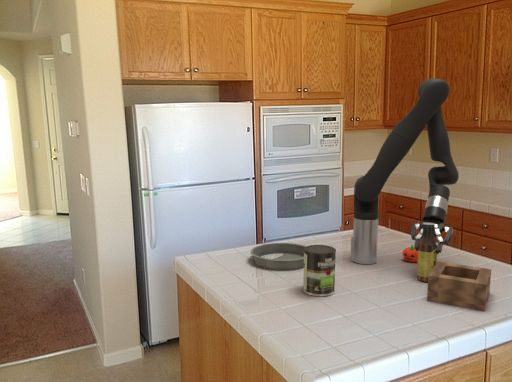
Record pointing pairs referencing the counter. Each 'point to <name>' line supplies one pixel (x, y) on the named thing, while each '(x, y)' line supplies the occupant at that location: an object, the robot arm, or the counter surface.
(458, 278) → the bottle block
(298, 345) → the counter surface
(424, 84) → the robot arm
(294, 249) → the cake pan
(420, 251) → the sauce bottle
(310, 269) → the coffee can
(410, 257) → the pumpkin
